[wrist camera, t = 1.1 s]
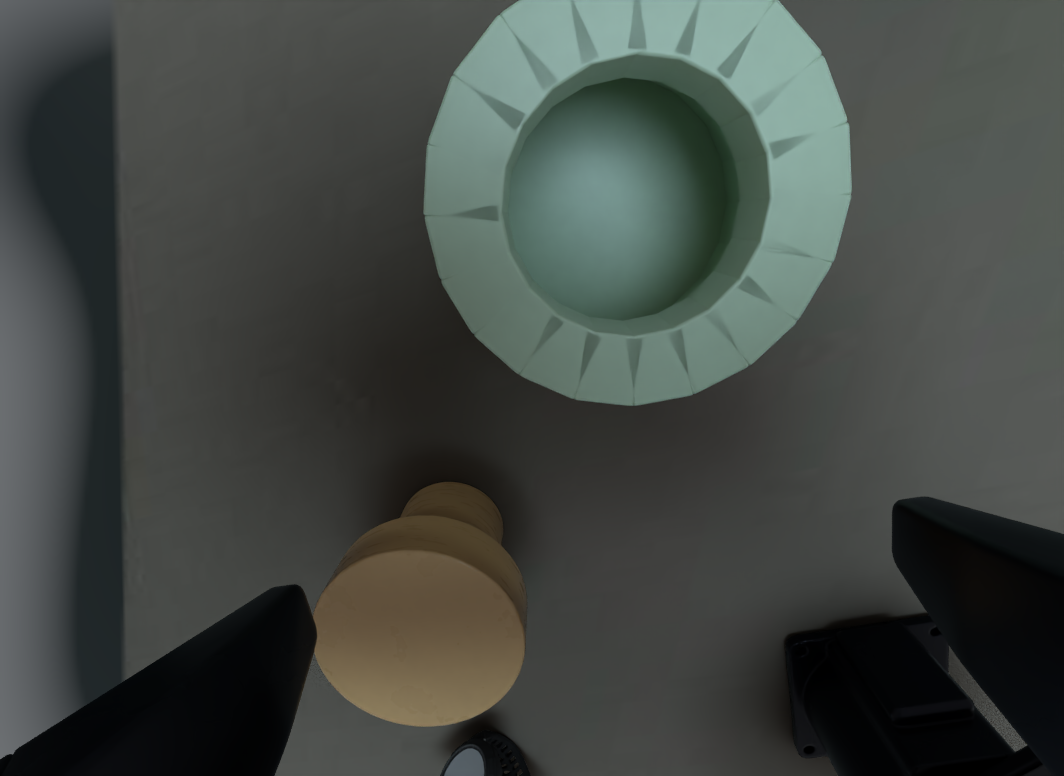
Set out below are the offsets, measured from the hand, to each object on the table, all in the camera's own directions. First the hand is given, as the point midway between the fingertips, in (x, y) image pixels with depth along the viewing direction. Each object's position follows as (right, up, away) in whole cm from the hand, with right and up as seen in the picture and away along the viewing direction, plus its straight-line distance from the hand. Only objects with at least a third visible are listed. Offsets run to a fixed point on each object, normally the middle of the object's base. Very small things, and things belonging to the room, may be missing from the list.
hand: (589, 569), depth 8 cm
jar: (+1, +9, +11) cm, 14 cm away
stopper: (-4, -3, +14) cm, 15 cm away
